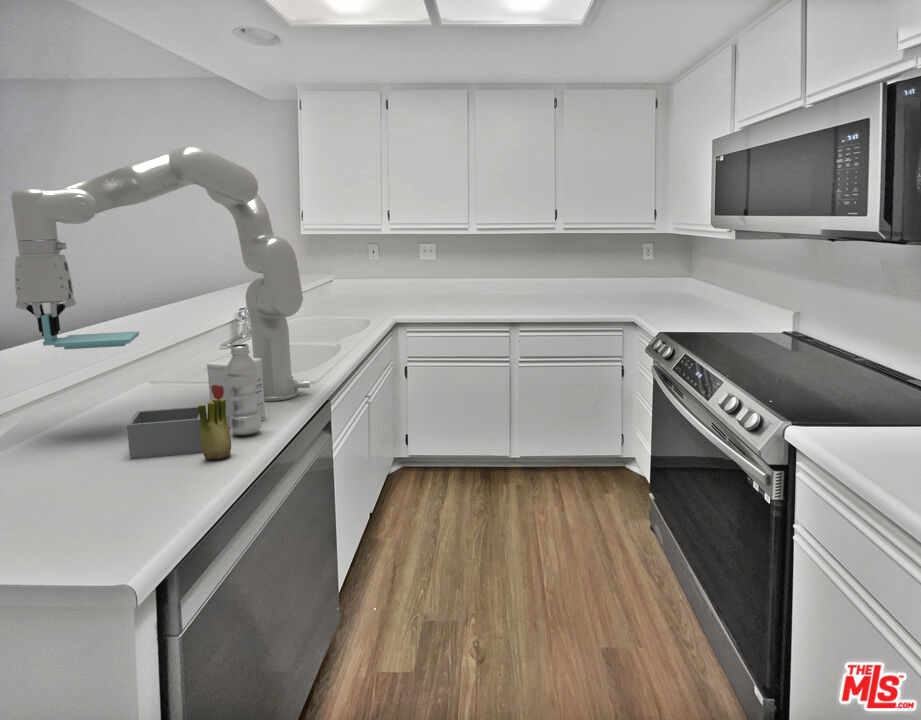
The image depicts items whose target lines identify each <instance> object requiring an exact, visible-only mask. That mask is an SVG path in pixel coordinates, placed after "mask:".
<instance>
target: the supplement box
mask: <svg viewBox="0 0 921 720" xmlns="http://www.w3.org/2000/svg"><path fill="white" fill-rule="evenodd" d="M231 358H232V356H228V357H224V358H221V359H218V360H214V361H210V362H208V363H207V364H206V368H207V378H208V389H209V390H208V391H209V392H208V393H209V401H212V399H218V400H219V399H225V400H226V419H227V424H228V427H229V429H231V428H230V415H231V394H230V388H229V383H228V379H227V375H226V368H227V365H228V363H229V361H230V360H231ZM250 358H251V359H252V360H253V361H254V362H255V364H256V366H257V382H256V398H257V405H258V412H259V414H260V418H261V422H262V421H265V420H266V411H265V408H266V407H265V401H264V390H263V375H262V359H260V358H253V357H250ZM212 402H213V401H212Z"/></svg>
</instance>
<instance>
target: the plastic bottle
mask: <svg viewBox="0 0 921 720" xmlns="http://www.w3.org/2000/svg"><path fill="white" fill-rule="evenodd" d="M249 354H251V352H250V348H249V344H247V343H237V344H232V345H230V355H231V357H232V358H231V360H230V361H229V363H228V365H227V368H226V375H227V379H228V383H229V388H230V394H231V415H230V428H229V429H230V432H231V433H233V434H234V435H235V436H250V435H253V434H256V433H258V432H259V431H260V429H261V425H262V421H261V418H260V414H259V412H258V405H257V398H256V382H257V366H256V364H255V362H254V361H253V360H252V359H251V358H252V357H251V356H250V355H249Z"/></svg>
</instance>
